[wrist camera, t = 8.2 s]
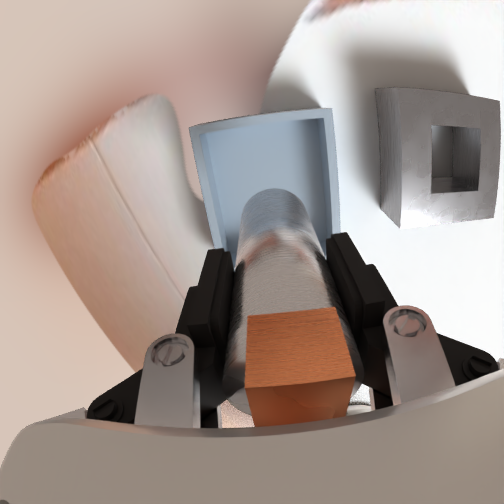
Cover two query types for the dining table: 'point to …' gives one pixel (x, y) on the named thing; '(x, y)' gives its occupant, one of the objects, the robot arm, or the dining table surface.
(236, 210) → the tray
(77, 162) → the dining table surface
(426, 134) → the block
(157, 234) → the dining table surface
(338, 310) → the pin
